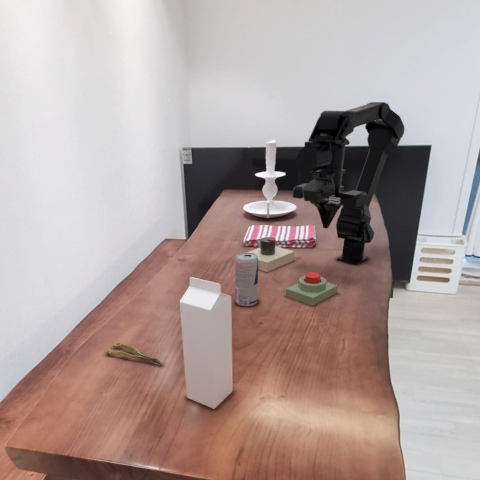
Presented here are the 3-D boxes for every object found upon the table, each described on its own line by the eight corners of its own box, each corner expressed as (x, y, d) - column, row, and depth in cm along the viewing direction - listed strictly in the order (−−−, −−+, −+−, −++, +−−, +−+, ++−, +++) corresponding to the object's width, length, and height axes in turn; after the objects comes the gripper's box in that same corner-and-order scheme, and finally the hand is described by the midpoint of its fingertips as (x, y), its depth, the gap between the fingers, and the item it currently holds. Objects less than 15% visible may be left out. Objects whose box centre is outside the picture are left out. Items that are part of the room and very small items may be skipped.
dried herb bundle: (157, 369, 91) (156, 360, 90) (104, 357, 97) (102, 349, 96) (168, 358, 94) (167, 349, 93) (116, 348, 100) (114, 339, 99)
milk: (205, 381, 86) (200, 270, 76) (233, 392, 83) (231, 276, 73) (185, 398, 82) (177, 282, 72) (214, 410, 79) (209, 290, 69)
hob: (267, 253, 145) (268, 243, 143) (293, 260, 138) (294, 250, 136) (241, 263, 138) (241, 253, 137) (266, 272, 131) (267, 261, 130)
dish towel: (316, 248, 146) (316, 237, 145) (242, 246, 151) (242, 236, 150) (315, 232, 161) (315, 222, 160) (247, 231, 166) (247, 221, 164)
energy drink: (259, 298, 116) (260, 253, 111) (254, 308, 112) (255, 261, 106) (238, 296, 118) (238, 251, 112) (233, 305, 114) (232, 259, 108)
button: (310, 277, 117) (311, 271, 116) (322, 281, 115) (323, 274, 114) (301, 281, 115) (302, 275, 114) (314, 285, 113) (314, 279, 112)
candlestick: (239, 225, 173) (239, 145, 159) (245, 208, 194) (245, 136, 181) (296, 225, 169) (300, 144, 156) (295, 208, 190) (299, 134, 177)
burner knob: (257, 252, 137) (257, 238, 135) (266, 249, 139) (267, 235, 137) (268, 256, 134) (268, 241, 132) (278, 252, 136) (278, 238, 134)
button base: (310, 284, 122) (311, 270, 120) (336, 293, 117) (338, 278, 115) (285, 296, 117) (286, 281, 115) (312, 306, 111) (313, 290, 109)
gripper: (280, 167, 117) (278, 228, 124) (345, 175, 104) (339, 243, 111) (307, 161, 123) (303, 219, 130) (372, 168, 110) (364, 232, 117)
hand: (325, 228), depth 122 cm, fingers closed
